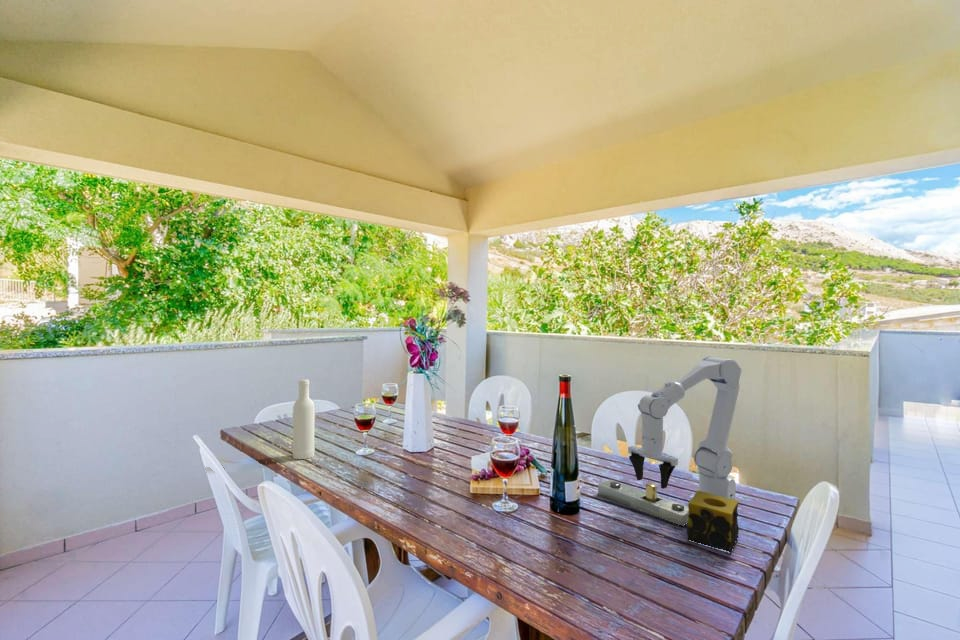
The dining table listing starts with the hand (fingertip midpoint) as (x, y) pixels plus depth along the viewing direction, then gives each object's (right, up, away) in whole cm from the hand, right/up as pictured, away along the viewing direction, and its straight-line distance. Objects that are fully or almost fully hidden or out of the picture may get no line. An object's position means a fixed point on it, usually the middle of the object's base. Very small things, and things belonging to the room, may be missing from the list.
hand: (651, 483), depth 128 cm
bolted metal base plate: (-2, -7, +2) cm, 8 cm away
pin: (0, -8, 0) cm, 8 cm away
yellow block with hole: (+9, -8, -17) cm, 21 cm away
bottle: (-119, -6, +43) cm, 127 cm away
